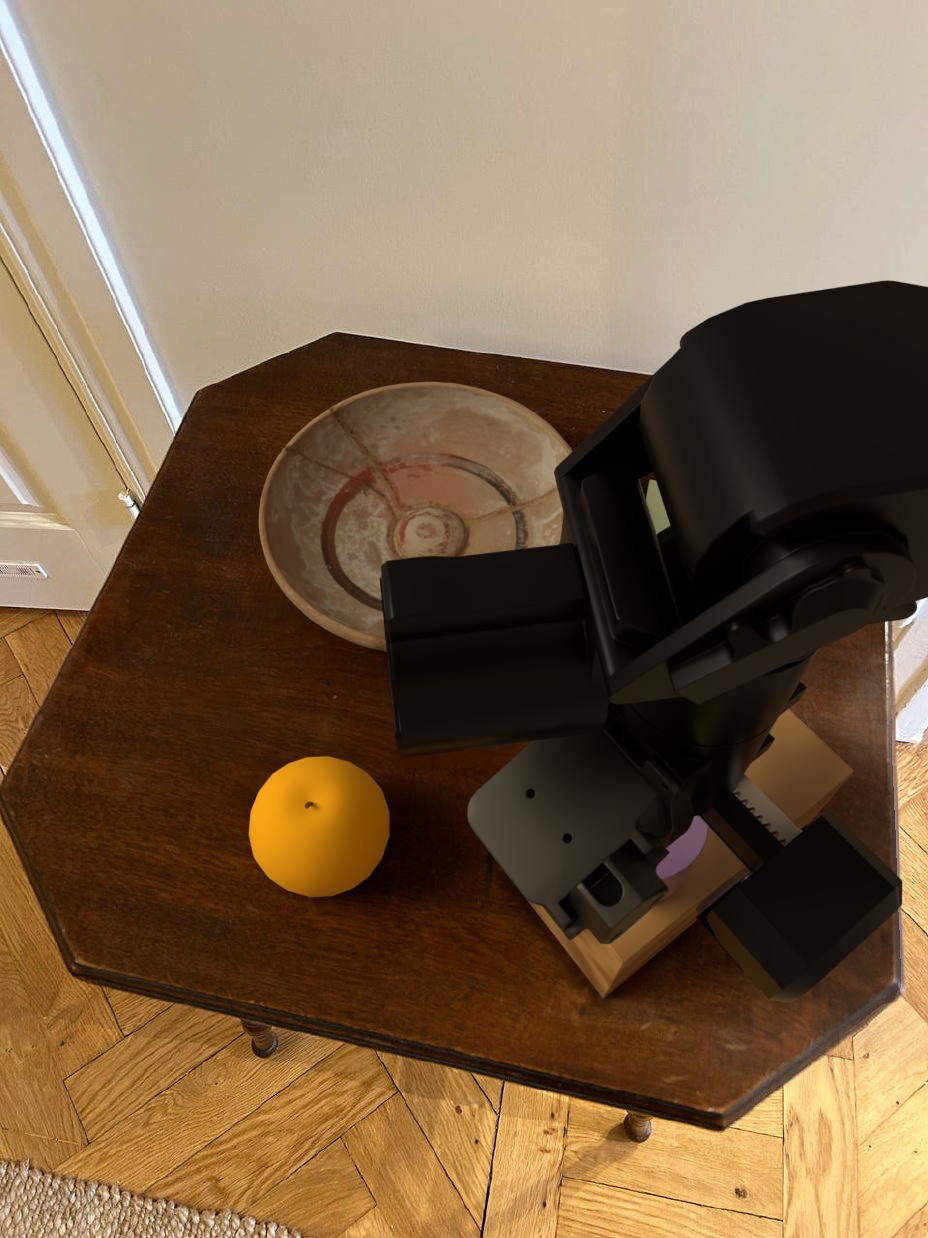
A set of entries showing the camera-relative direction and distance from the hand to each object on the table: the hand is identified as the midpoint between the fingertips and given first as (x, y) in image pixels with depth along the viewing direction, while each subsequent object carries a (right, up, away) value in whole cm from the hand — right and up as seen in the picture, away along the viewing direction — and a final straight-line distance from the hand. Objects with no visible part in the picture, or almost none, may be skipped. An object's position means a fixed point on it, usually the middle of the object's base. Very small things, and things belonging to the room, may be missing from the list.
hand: (637, 828), depth 43 cm
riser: (+3, -4, +11) cm, 12 cm away
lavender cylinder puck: (0, -1, +2) cm, 2 cm away
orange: (-16, -4, +12) cm, 21 cm away
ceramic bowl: (-11, +15, +24) cm, 31 cm away
